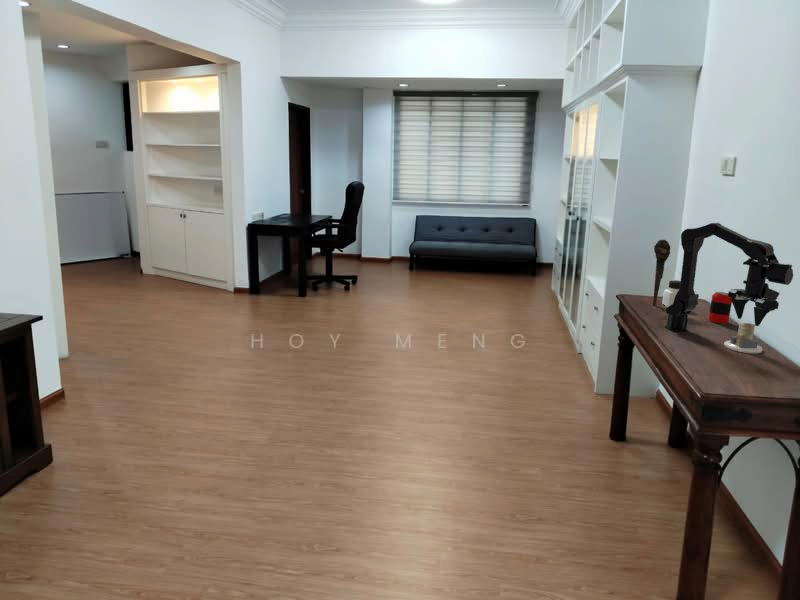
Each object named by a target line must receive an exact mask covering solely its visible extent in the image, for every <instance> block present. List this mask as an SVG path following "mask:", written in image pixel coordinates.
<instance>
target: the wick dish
mask: <svg viewBox="0 0 800 600" xmlns="http://www.w3.org/2000/svg"><path fill="white" fill-rule="evenodd" d="M736 340H737V335H735V336H733V335H732V336H731V337H730V340H724V342H723V346H724V347H725V348H727V349H729V350H730V351H734V352H737V351H738V352H737V353H742V352H743V353H744V354H762V353H763V347H762V346H760V345H759V344H758V343H759V341H758V340H753V339H752V340H740V343H739V346H738V345H736Z"/></svg>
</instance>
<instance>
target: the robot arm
mask: <svg viewBox="0 0 800 600" xmlns="http://www.w3.org/2000/svg"><path fill="white" fill-rule="evenodd" d="M712 236H715V237H716V238H719V239H720V240H723V241H724V242H726V243H728V244H731V245H733V246H734V247H736V248H739V249H740V250H741V251H742V252H743V253H744V255H746V256H747V257H749V258H748V259H746V260H745V261H743V262H742V264H743V265H746V266H748V271H747V274H746V275H747V276H746V280H743V281H742V284H745V287H744V289H742V288H730V289H729V291H728V292H727V293H728V296H729V297H731V298H730V300H731V301H732V306H733V307H734V311H735V314H736V317H737V319H739V320H741V319H742V317H743V314H744V311H745V307H746V305H747V304H748V302H749V301H751V302H753V303H754V305H755V306H754V307H753V313H754V314H753V316H754V317H753V319H754V325H755V327H759V326H760V325H761V323H762V322H763V320H764V319H765V317H766V315H768V314H769V313H770V312H773V311H775V310H778V309H779V305H780V303H779V301H777V299H778V297H779V295H780V292H778V291H776V290H774V289H771V288H770V286H769V283H773V284H774V283H775V284H780V285H785V286H789V285H790V284H791V282H792V281H793V278H794V269H793V268H792V267H793V265H792V264H789V263H780V262H779V260H778V258H777V256H776V254H775V253H774V252H775V251H774V250H775V249H774V246H773V245H772V244H771V243H768V242H765V241H762V240H755V239H752V238H749V237H746V236H745V235H742V234H741V233H739V232H736V231H734V230H733V229H731V228H729V227H727V226H725V225H722V224H721V223H720V222H710V223H709V224H705V225H703V226H698V227H696V228H695V227H694V228H686V229H684V230H683V231H681V235H680V245H681V247H682V250H683V258H682V267H681V275H680V281H681V282H680V289H679V290H678V292H677V294H676V295H675V298H674V302H673V304H672V305H670V306H669V307H665V311H666V314H667V321H666V324H665V325H664V326H663V327H664V328H666V329H668V330H669V331H673V332H688V331H689V330H688V328H687V327H688V324H689V323H688V322H689V316H688V315H690V314H691V313H692V311H693V310H695V309H696V307H697V305H699V295H700V294H698V293H696V292H695V290H694V287H695V278H696V272H697V263H698V255H699V251H700V250H701V248H702V246H703V245H704V242H705V239H707V238H710V237H712ZM766 280H767V281H768V282H769V283H767V282H766Z"/></svg>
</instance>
